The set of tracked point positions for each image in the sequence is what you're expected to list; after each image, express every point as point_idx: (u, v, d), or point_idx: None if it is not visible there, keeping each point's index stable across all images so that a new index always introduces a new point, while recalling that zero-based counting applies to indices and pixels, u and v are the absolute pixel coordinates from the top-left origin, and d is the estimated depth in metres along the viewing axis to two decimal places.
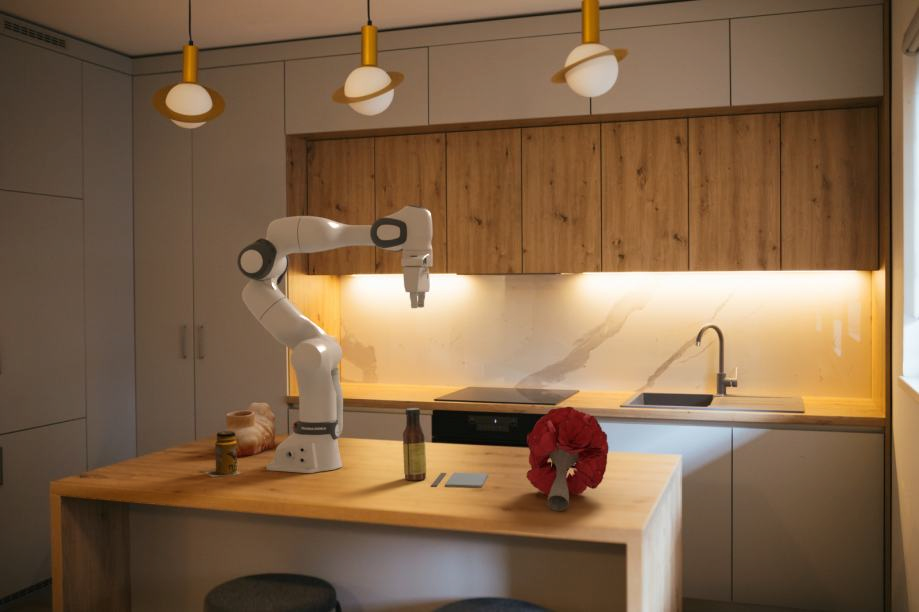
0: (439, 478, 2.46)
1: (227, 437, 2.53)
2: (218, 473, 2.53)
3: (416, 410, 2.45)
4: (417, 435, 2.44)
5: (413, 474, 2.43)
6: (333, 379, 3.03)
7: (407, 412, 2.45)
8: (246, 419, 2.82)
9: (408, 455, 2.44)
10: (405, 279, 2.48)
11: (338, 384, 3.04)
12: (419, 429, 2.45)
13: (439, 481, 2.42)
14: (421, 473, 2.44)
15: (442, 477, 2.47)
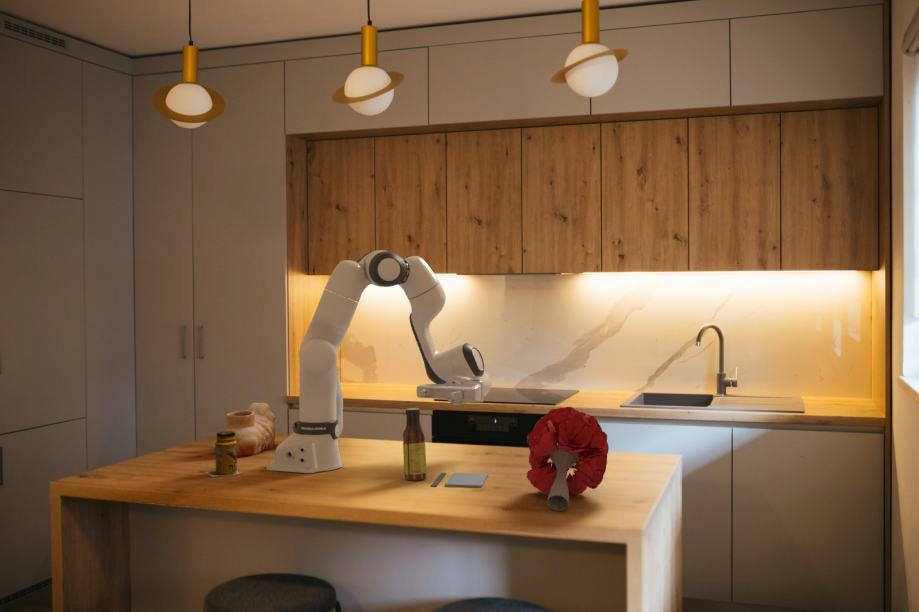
0: (439, 478, 2.46)
1: (227, 437, 2.53)
2: (218, 473, 2.53)
3: (416, 410, 2.45)
4: (417, 435, 2.44)
5: (413, 474, 2.43)
6: None
7: (407, 412, 2.45)
8: (246, 419, 2.82)
9: (408, 455, 2.44)
10: (478, 388, 2.59)
11: (338, 384, 3.04)
12: (419, 429, 2.45)
13: (439, 481, 2.42)
14: (421, 473, 2.44)
15: (442, 477, 2.47)
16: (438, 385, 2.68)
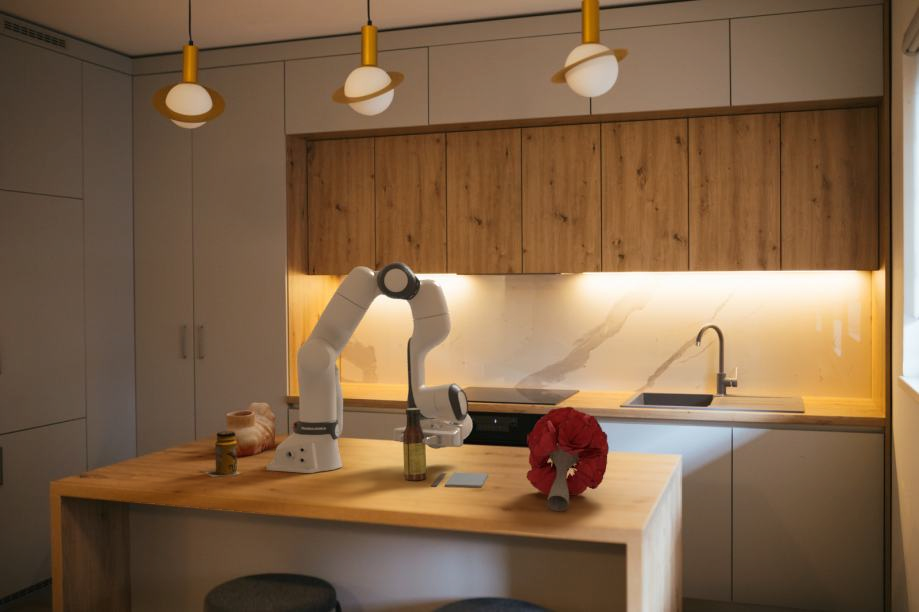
0: (439, 478, 2.46)
1: (227, 437, 2.53)
2: (218, 473, 2.53)
3: (416, 410, 2.45)
4: (417, 435, 2.44)
5: (413, 474, 2.43)
6: None
7: (408, 412, 2.45)
8: (246, 419, 2.82)
9: (408, 454, 2.44)
10: (457, 433, 2.48)
11: (338, 384, 3.04)
12: (419, 429, 2.45)
13: (439, 481, 2.42)
14: (421, 473, 2.44)
15: (442, 477, 2.47)
16: None
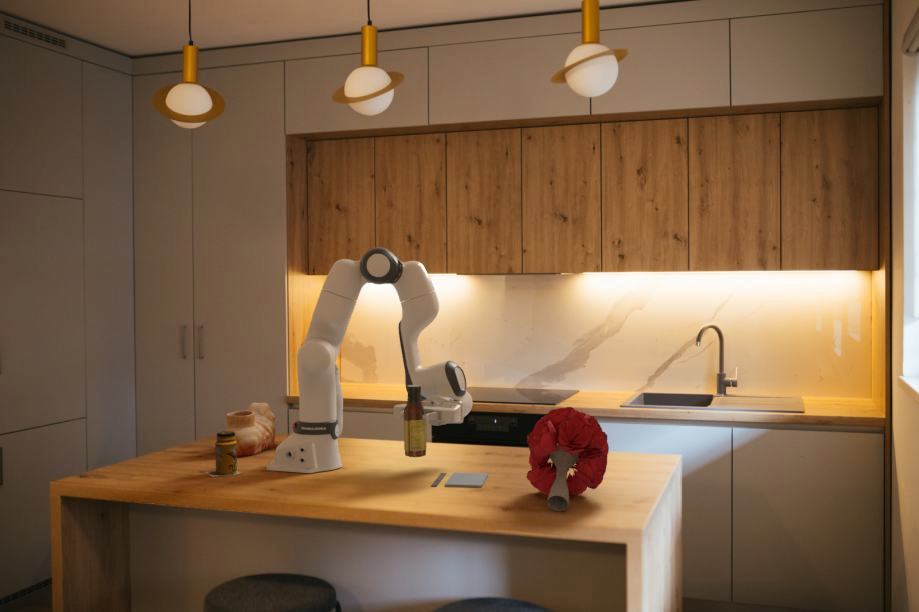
0: (439, 478, 2.46)
1: (227, 437, 2.53)
2: (218, 473, 2.53)
3: (417, 387, 2.44)
4: (418, 411, 2.43)
5: (413, 450, 2.43)
6: None
7: (409, 388, 2.44)
8: (246, 419, 2.82)
9: (408, 431, 2.44)
10: (458, 409, 2.48)
11: (338, 384, 3.04)
12: (420, 406, 2.44)
13: (439, 481, 2.42)
14: (421, 450, 2.44)
15: (442, 477, 2.47)
16: None
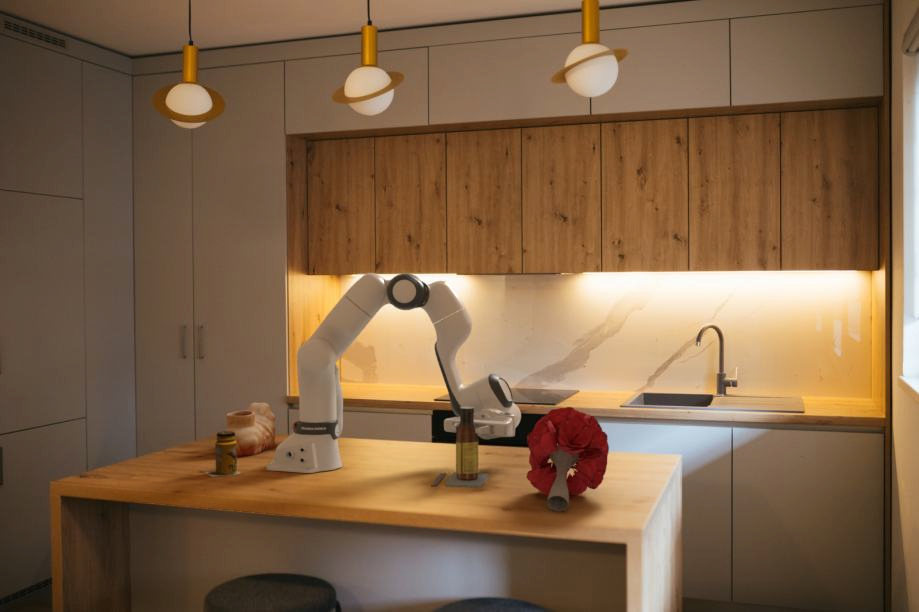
0: (439, 478, 2.46)
1: (227, 437, 2.53)
2: (218, 473, 2.53)
3: (471, 409, 2.42)
4: (472, 434, 2.41)
5: (466, 473, 2.41)
6: None
7: (462, 410, 2.42)
8: (246, 419, 2.82)
9: (461, 454, 2.41)
10: (510, 423, 2.45)
11: (338, 384, 3.04)
12: (473, 428, 2.42)
13: (439, 481, 2.42)
14: (474, 473, 2.41)
15: (442, 477, 2.47)
16: None
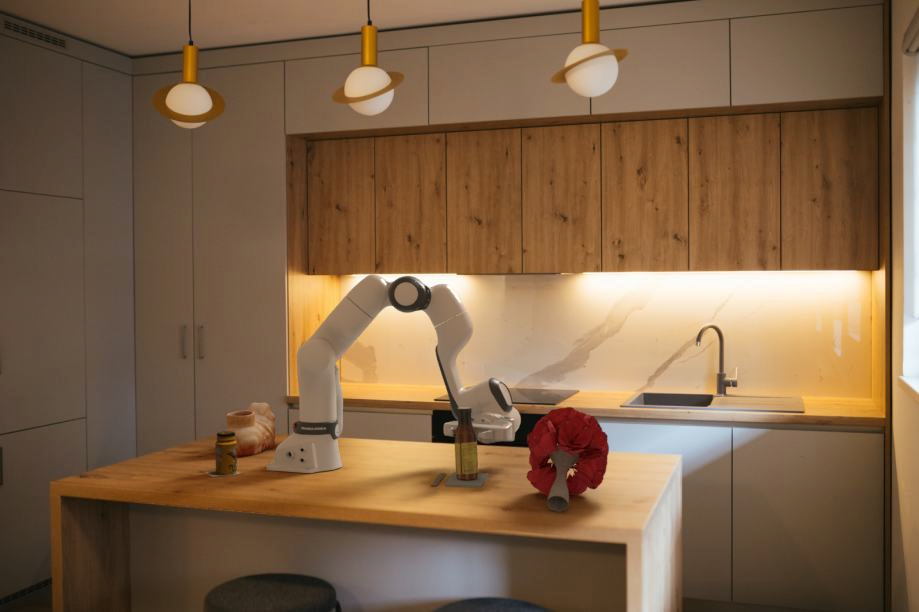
0: (439, 478, 2.46)
1: (227, 437, 2.53)
2: (218, 473, 2.53)
3: (468, 409, 2.42)
4: (470, 434, 2.41)
5: (465, 473, 2.41)
6: None
7: (459, 411, 2.42)
8: (246, 419, 2.82)
9: (460, 454, 2.41)
10: (510, 427, 2.45)
11: (338, 384, 3.04)
12: (471, 428, 2.42)
13: (439, 481, 2.42)
14: (474, 472, 2.41)
15: (442, 477, 2.47)
16: None
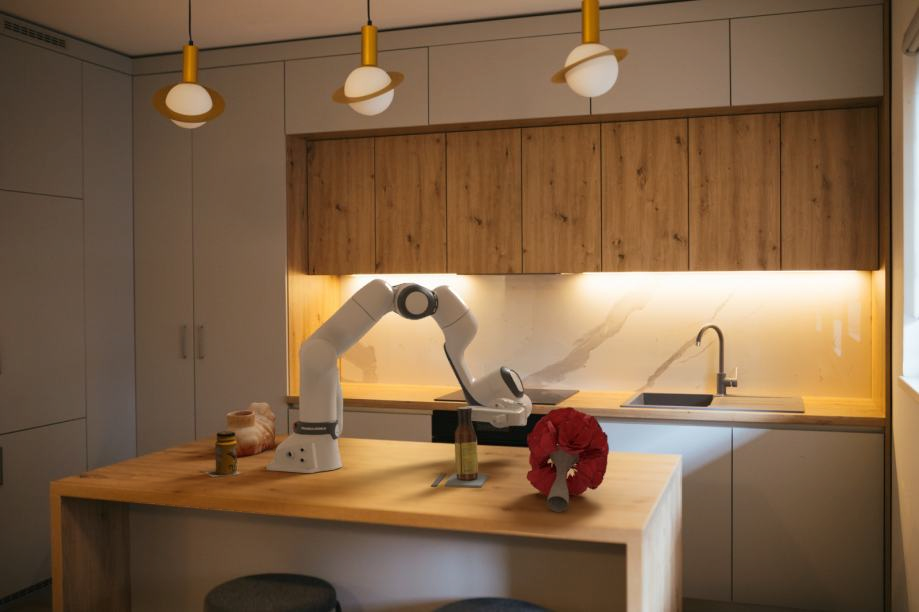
0: (439, 478, 2.46)
1: (227, 437, 2.53)
2: (218, 473, 2.53)
3: (468, 409, 2.42)
4: (470, 434, 2.41)
5: (465, 473, 2.41)
6: None
7: (459, 411, 2.42)
8: (246, 419, 2.82)
9: (460, 454, 2.41)
10: (523, 412, 2.58)
11: (338, 384, 3.04)
12: (471, 428, 2.42)
13: (439, 481, 2.42)
14: (474, 472, 2.42)
15: (442, 477, 2.47)
16: (481, 407, 2.67)
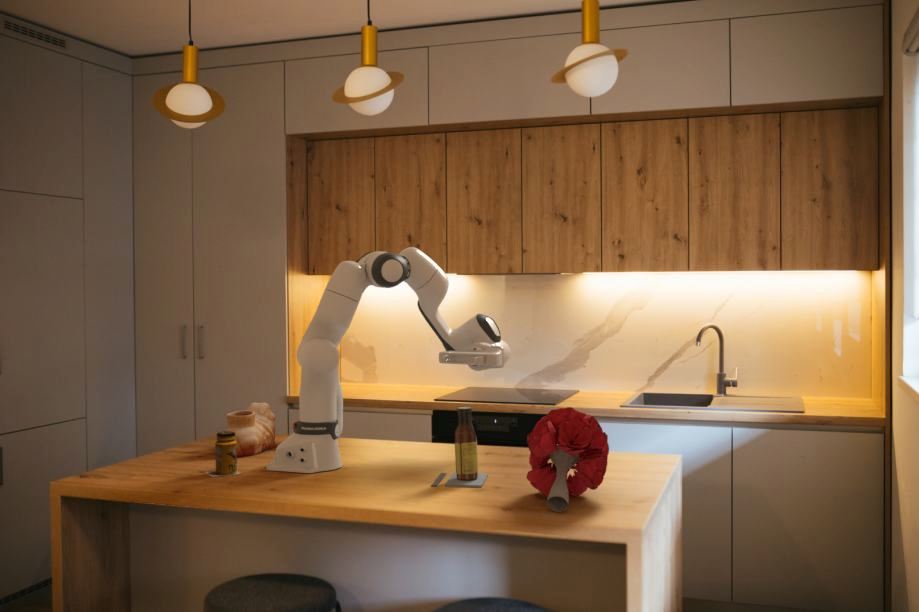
0: (439, 478, 2.46)
1: (227, 437, 2.53)
2: (218, 473, 2.53)
3: (468, 409, 2.42)
4: (470, 434, 2.41)
5: (465, 473, 2.41)
6: None
7: (459, 411, 2.42)
8: (246, 419, 2.82)
9: (460, 454, 2.41)
10: (500, 353, 2.66)
11: (338, 384, 3.04)
12: (471, 428, 2.42)
13: (439, 481, 2.42)
14: (474, 472, 2.42)
15: (442, 477, 2.47)
16: (460, 351, 2.74)
